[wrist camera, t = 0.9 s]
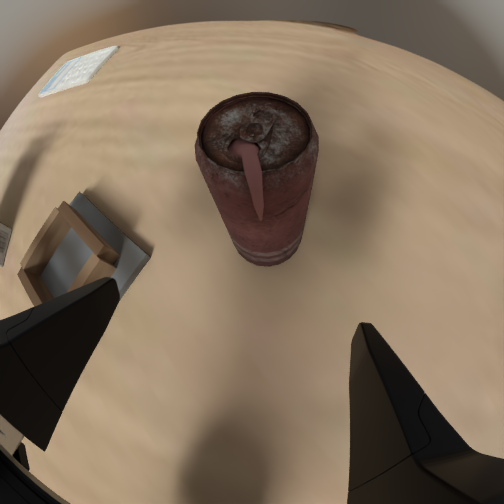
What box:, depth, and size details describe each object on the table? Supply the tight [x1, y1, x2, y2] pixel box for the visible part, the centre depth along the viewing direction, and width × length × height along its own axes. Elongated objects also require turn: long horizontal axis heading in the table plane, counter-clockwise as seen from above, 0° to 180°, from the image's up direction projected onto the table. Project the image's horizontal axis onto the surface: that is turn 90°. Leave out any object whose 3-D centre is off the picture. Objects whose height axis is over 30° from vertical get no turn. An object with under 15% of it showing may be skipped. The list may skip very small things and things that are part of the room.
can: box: [195, 92, 318, 266], centre depth 18 cm, size 6×6×14 cm
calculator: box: [39, 46, 119, 97], centre depth 41 cm, size 13×20×2 cm, turn 77°
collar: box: [18, 192, 151, 307], centre depth 24 cm, size 14×14×4 cm
